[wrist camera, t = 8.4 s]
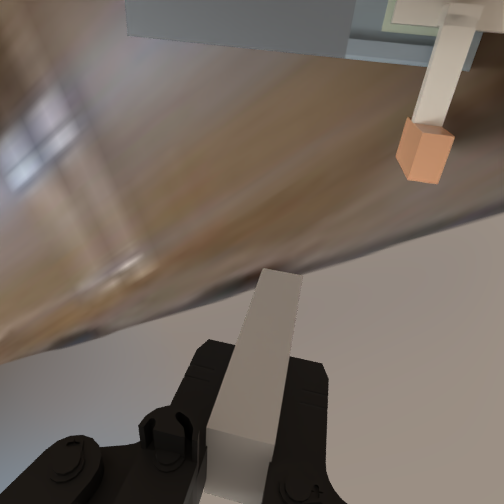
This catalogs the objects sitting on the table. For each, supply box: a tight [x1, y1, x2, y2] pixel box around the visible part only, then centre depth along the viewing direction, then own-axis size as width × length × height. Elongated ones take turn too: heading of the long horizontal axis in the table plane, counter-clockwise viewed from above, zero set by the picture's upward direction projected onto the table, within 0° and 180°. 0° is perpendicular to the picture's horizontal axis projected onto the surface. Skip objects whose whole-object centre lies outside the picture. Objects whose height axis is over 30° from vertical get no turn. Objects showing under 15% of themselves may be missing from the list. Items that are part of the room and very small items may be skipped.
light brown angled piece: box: [390, 0, 504, 184], centre depth 22 cm, size 8×20×6 cm, turn 175°
